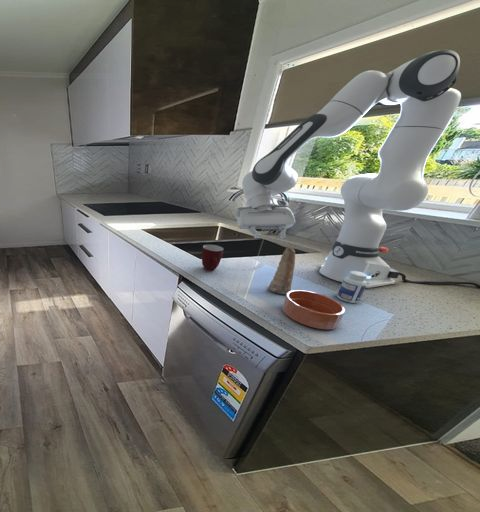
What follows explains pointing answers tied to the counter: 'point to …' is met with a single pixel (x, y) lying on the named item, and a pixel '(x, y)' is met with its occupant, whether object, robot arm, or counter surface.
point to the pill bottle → (352, 287)
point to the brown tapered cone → (284, 273)
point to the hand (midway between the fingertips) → (270, 237)
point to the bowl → (313, 309)
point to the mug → (211, 256)
